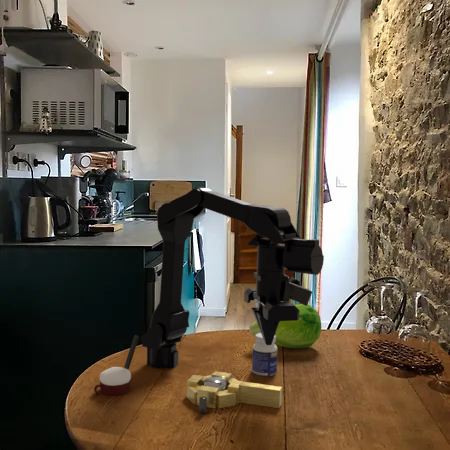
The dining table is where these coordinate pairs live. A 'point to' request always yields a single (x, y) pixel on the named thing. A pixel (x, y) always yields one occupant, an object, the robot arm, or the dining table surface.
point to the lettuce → (296, 329)
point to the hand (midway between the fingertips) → (268, 344)
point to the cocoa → (117, 376)
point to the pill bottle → (264, 357)
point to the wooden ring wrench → (233, 392)
